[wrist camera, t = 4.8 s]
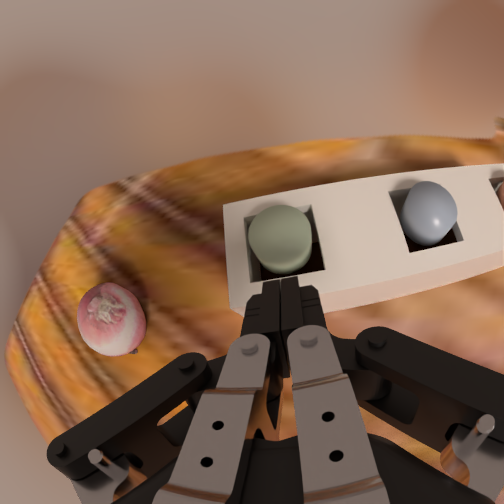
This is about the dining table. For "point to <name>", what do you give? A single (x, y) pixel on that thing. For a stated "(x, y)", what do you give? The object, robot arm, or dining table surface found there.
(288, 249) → the sage button
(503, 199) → the terracotta button
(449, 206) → the slate button
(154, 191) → the dining table surface
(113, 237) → the dining table surface
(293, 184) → the dining table surface
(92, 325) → the onion
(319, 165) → the dining table surface
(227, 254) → the block
